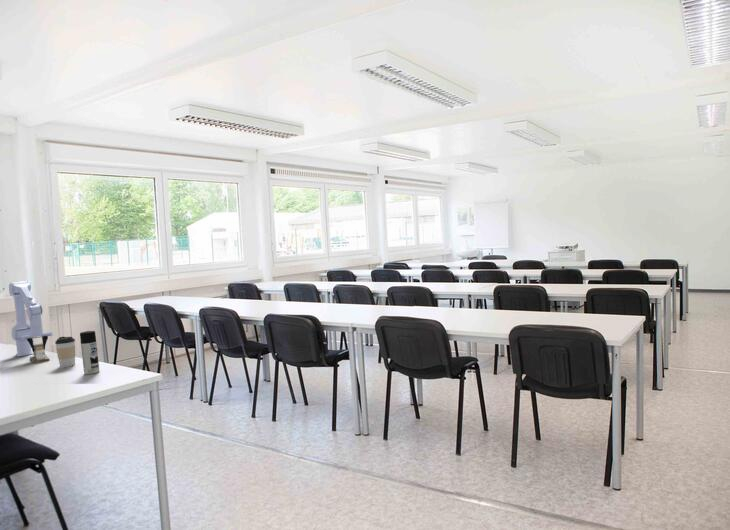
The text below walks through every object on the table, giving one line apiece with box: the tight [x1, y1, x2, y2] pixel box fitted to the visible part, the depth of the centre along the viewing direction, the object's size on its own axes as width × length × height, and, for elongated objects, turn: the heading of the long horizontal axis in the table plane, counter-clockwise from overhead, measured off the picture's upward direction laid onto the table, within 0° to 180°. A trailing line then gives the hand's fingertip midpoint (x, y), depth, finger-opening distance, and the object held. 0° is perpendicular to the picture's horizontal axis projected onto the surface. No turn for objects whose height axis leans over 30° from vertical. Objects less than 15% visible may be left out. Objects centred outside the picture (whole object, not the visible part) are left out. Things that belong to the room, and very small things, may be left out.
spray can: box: [79, 330, 100, 375], centre depth 255 cm, size 7×7×20 cm
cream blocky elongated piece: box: [29, 349, 50, 364], centre depth 298 cm, size 17×8×6 cm, turn 37°
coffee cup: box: [54, 336, 76, 368], centre depth 276 cm, size 9×9×15 cm
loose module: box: [33, 342, 44, 356], centre depth 297 cm, size 5×4×6 cm
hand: (38, 350), depth 297 cm, fingers closed on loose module, 4 cm apart
